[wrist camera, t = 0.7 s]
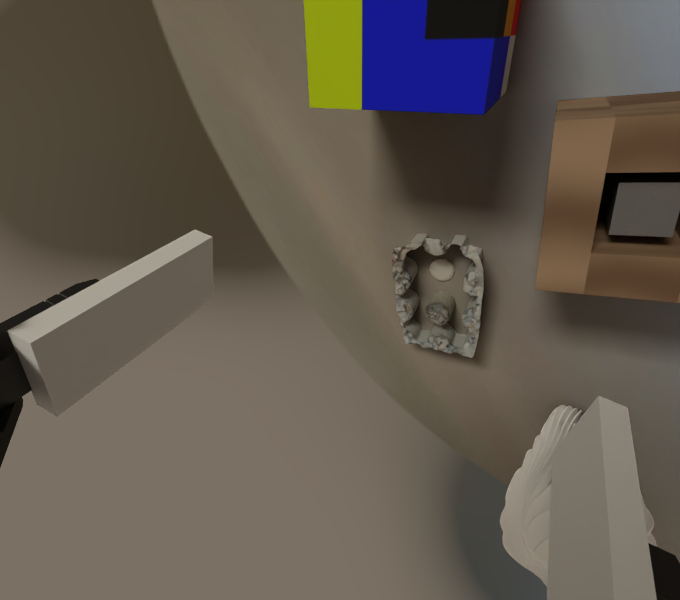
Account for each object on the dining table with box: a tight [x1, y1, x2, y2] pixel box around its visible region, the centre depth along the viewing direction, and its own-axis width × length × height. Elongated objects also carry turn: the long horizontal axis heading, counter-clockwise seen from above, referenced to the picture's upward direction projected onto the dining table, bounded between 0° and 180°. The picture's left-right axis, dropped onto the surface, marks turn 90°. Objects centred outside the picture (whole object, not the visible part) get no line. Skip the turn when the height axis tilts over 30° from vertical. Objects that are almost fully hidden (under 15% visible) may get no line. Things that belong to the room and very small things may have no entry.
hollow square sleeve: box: [535, 91, 680, 303], centre depth 25 cm, size 10×10×8 cm
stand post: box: [602, 172, 680, 237], centre depth 26 cm, size 3×3×7 cm
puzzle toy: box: [304, 0, 522, 115], centre depth 25 cm, size 10×10×10 cm
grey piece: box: [392, 234, 484, 358], centre depth 37 cm, size 11×8×4 cm
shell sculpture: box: [500, 405, 657, 586], centre depth 33 cm, size 8×8×18 cm
